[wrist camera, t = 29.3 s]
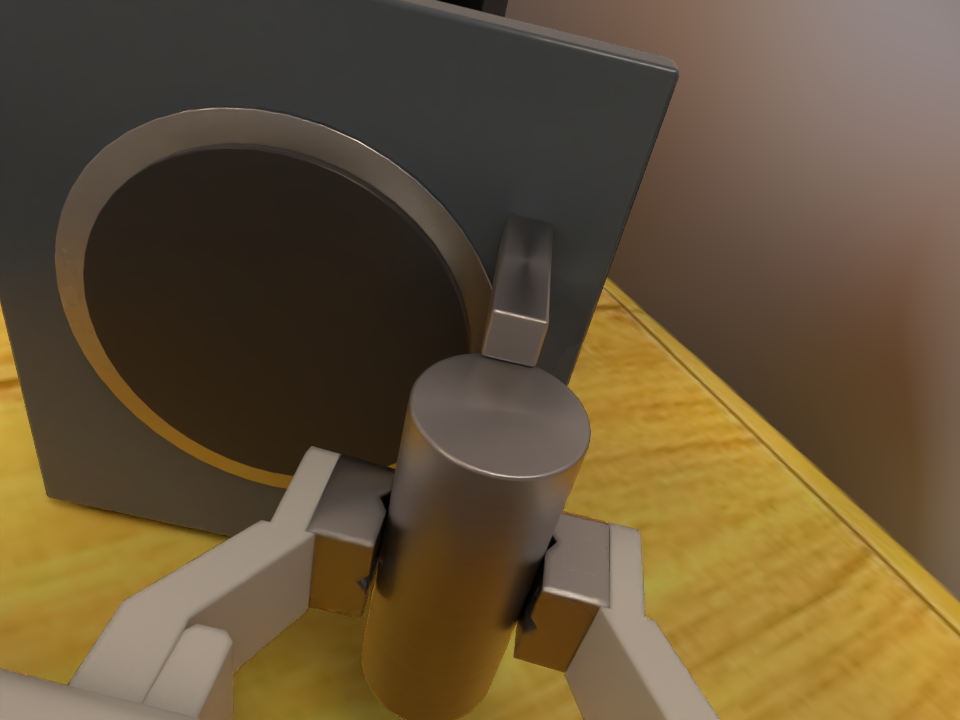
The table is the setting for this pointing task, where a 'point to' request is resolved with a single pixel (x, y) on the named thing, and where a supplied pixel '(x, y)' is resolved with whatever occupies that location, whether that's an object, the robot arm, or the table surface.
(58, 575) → the table surface
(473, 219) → the washer door
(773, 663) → the table surface
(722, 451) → the table surface
